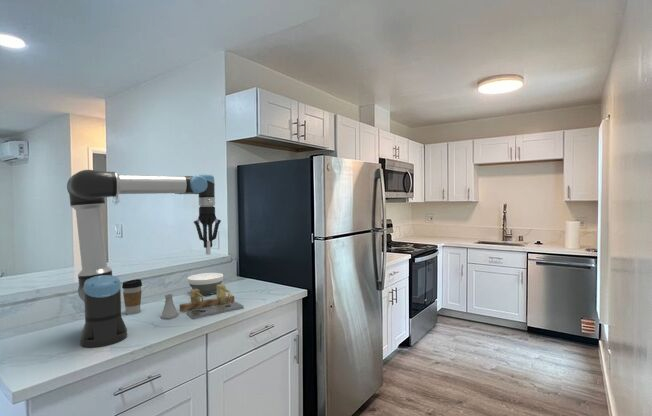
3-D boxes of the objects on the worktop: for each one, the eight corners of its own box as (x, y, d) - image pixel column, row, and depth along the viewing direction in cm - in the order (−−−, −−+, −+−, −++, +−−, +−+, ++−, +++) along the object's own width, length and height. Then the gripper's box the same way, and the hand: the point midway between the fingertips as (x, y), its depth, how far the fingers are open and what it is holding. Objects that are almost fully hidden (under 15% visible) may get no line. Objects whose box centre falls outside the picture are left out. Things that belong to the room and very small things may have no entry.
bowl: (210, 287, 216) (209, 271, 216) (231, 291, 205) (230, 274, 205) (180, 294, 201) (180, 277, 200) (201, 299, 189) (201, 281, 189)
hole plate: (192, 319, 156) (192, 316, 156) (186, 314, 163) (186, 311, 163) (243, 308, 170) (243, 305, 170) (236, 304, 177) (236, 301, 177)
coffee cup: (145, 311, 169) (144, 280, 168) (126, 316, 162) (125, 283, 162) (139, 308, 174) (138, 278, 174) (120, 312, 168) (119, 281, 168)
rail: (187, 317, 159) (186, 297, 158) (179, 310, 170) (178, 291, 170) (242, 306, 174) (241, 287, 174) (231, 300, 185) (230, 283, 185)
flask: (171, 319, 156) (170, 297, 156) (157, 319, 157) (156, 296, 157) (181, 314, 163) (180, 293, 163) (167, 314, 164) (166, 292, 164)
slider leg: (226, 308, 169) (226, 289, 169) (216, 302, 181) (216, 284, 181) (232, 306, 171) (232, 288, 171) (222, 300, 182) (222, 283, 182)
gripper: (195, 206, 167) (196, 256, 167) (222, 205, 175) (223, 253, 175) (191, 206, 173) (192, 254, 174) (217, 206, 181) (218, 252, 181)
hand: (208, 254), depth 174 cm, fingers closed
